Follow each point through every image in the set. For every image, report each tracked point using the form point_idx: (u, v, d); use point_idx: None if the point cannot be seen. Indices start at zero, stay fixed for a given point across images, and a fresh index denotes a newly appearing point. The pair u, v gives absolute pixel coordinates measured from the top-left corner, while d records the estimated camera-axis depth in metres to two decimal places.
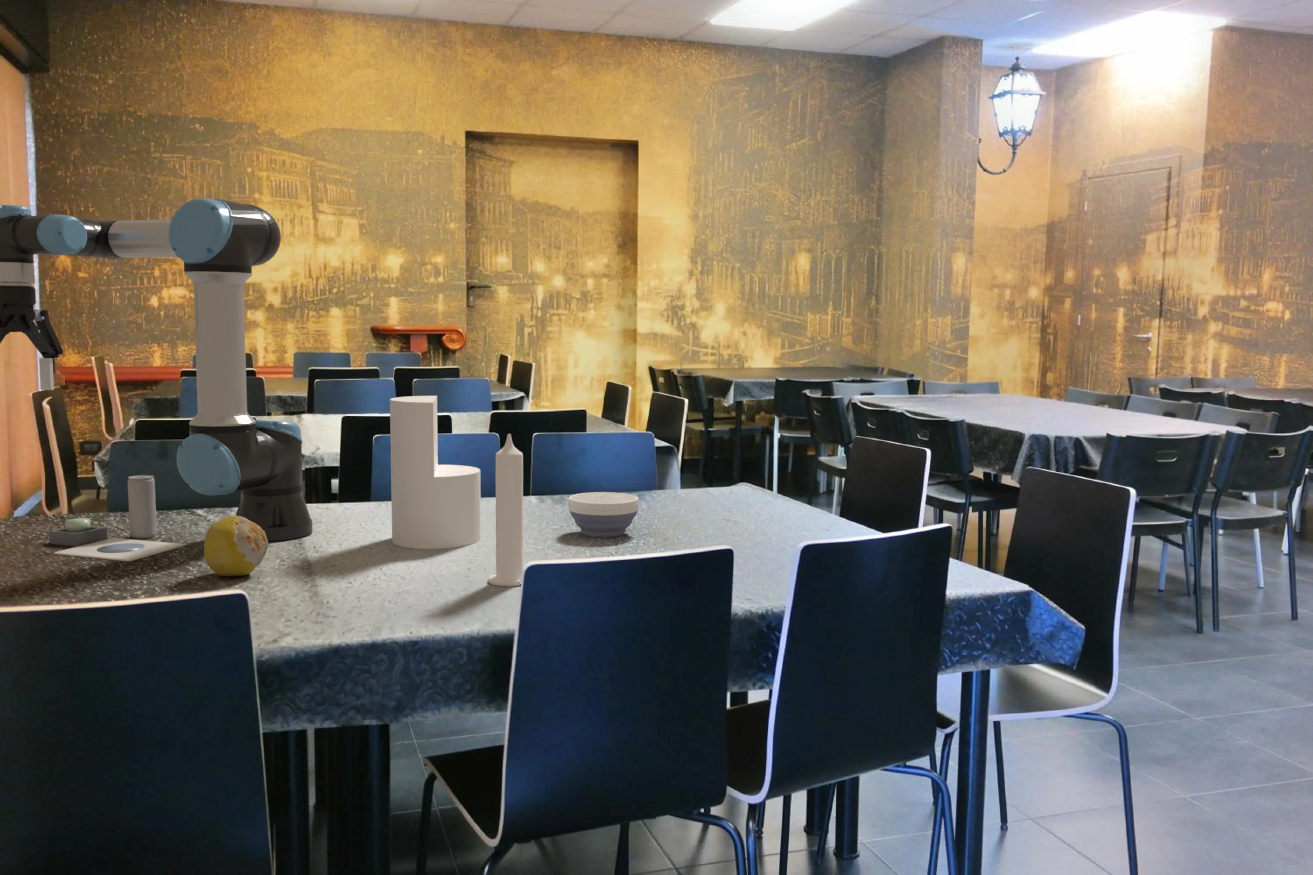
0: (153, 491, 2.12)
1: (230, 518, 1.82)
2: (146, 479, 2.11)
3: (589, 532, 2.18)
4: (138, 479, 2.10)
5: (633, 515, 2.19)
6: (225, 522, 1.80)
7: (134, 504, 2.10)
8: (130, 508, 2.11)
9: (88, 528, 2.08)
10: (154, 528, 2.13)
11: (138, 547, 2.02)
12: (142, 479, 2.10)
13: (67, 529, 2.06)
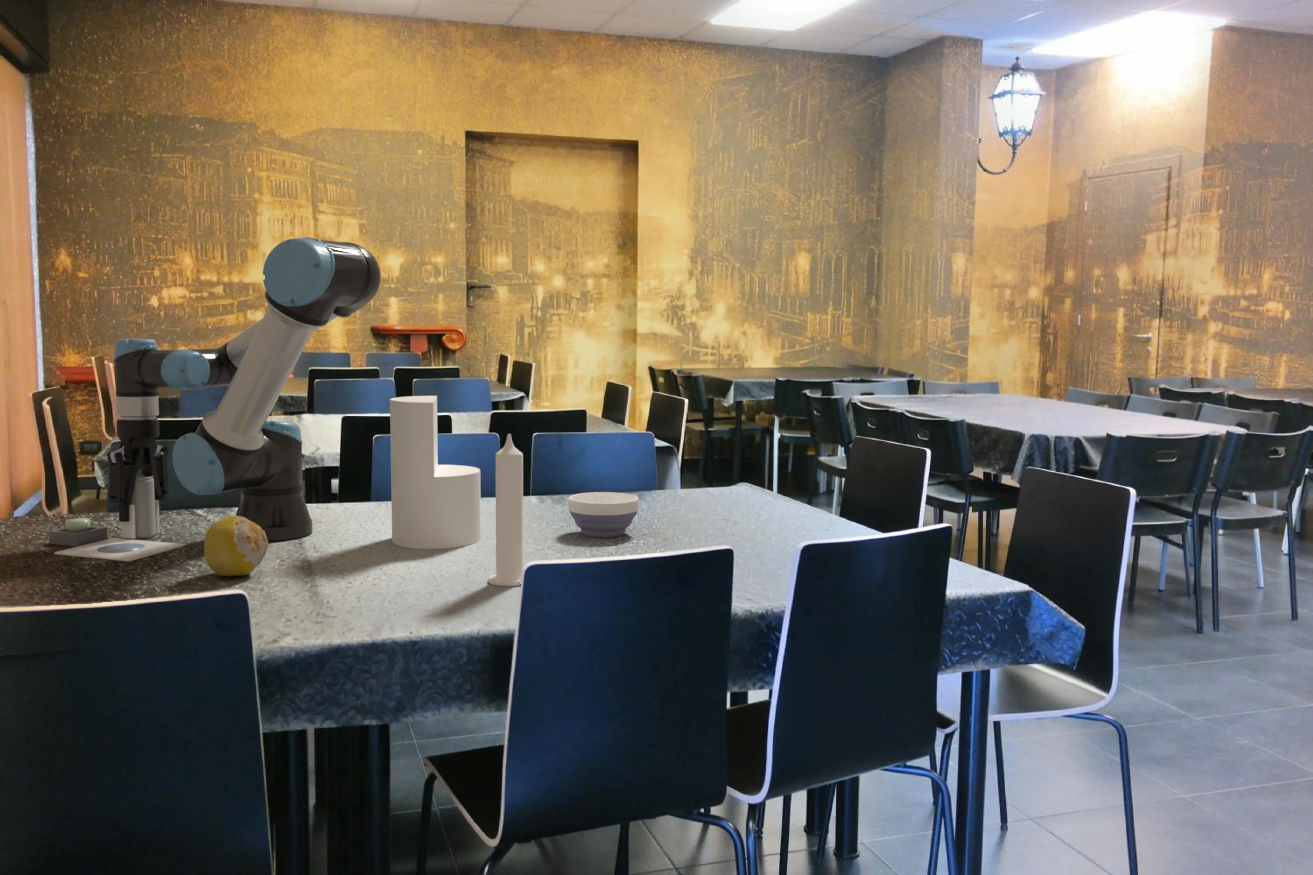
0: (152, 491, 2.12)
1: (230, 518, 1.82)
2: (145, 479, 2.11)
3: (589, 532, 2.18)
4: (137, 479, 2.10)
5: (633, 515, 2.19)
6: (225, 522, 1.80)
7: (133, 504, 2.10)
8: None
9: (88, 528, 2.08)
10: (153, 528, 2.13)
11: (138, 547, 2.02)
12: (141, 479, 2.10)
13: (67, 529, 2.06)
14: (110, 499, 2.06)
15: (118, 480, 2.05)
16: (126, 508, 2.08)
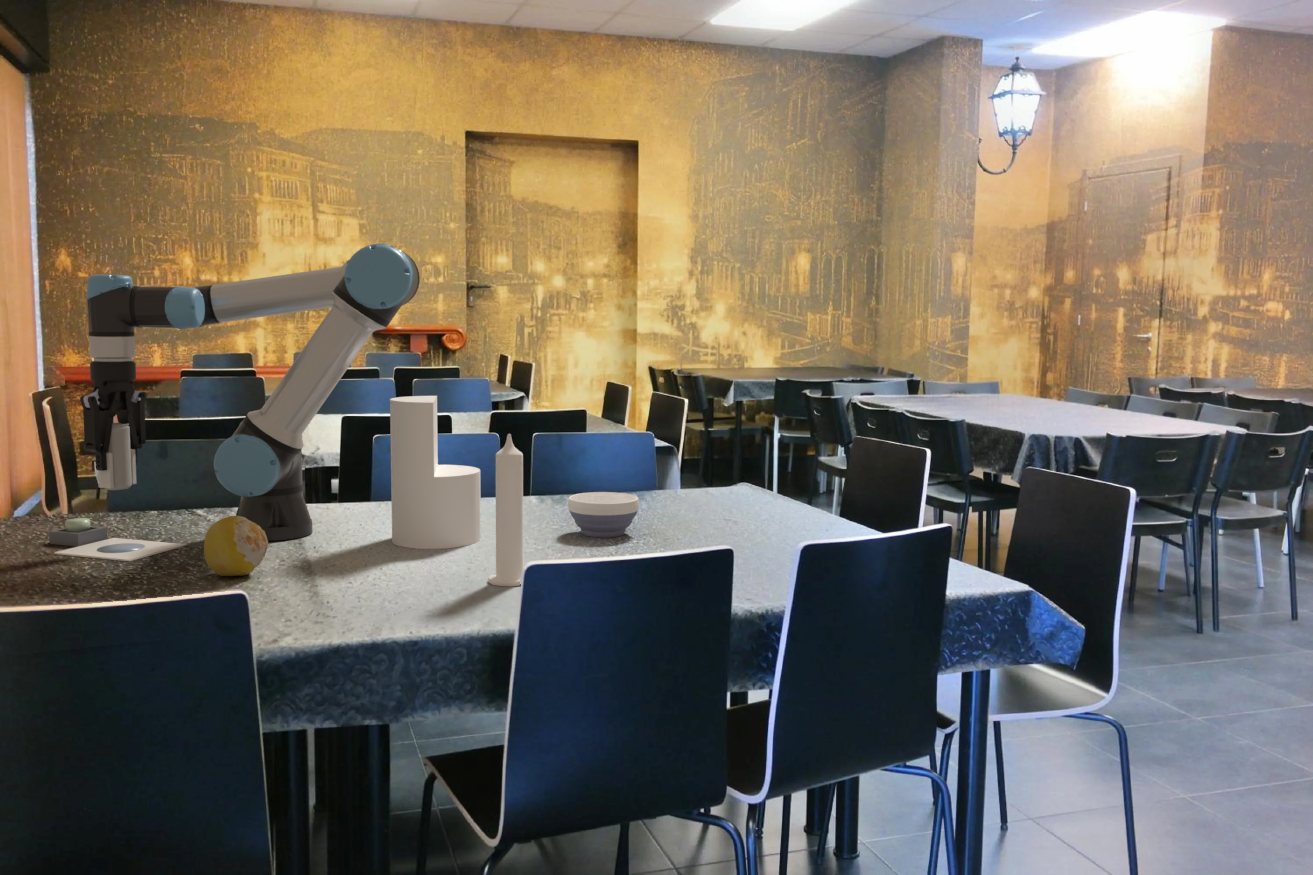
0: (128, 439, 1.99)
1: (230, 518, 1.82)
2: (120, 426, 1.98)
3: (589, 532, 2.18)
4: (112, 426, 1.97)
5: (633, 515, 2.19)
6: (225, 522, 1.80)
7: None
8: None
9: (88, 528, 2.08)
10: (129, 479, 2.00)
11: (138, 547, 2.02)
12: (116, 426, 1.97)
13: (67, 529, 2.06)
14: (86, 446, 1.94)
15: (93, 425, 1.93)
16: (103, 456, 1.96)
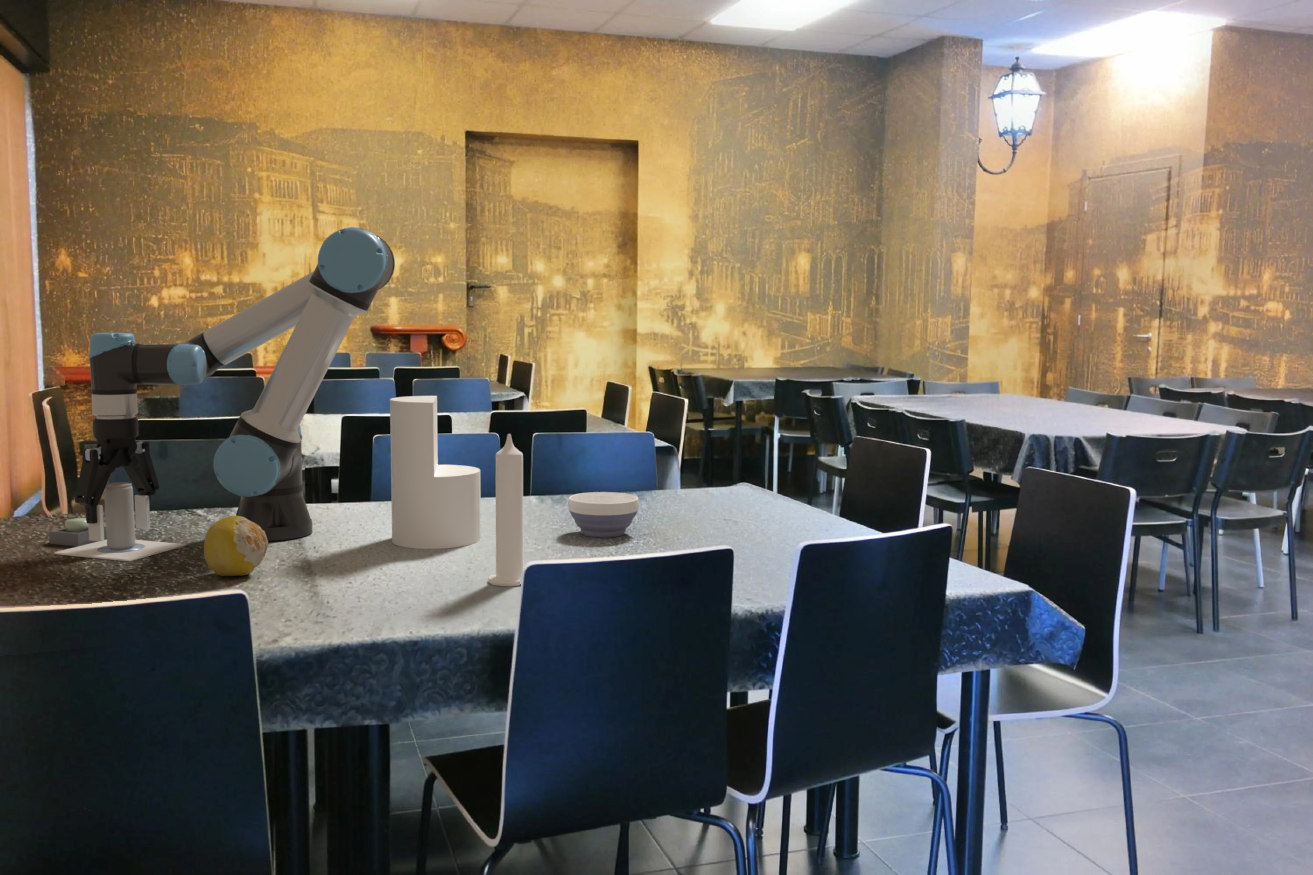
0: (131, 499, 2.00)
1: (230, 518, 1.82)
2: (123, 487, 1.99)
3: (589, 532, 2.18)
4: (115, 487, 1.98)
5: (633, 515, 2.19)
6: (225, 522, 1.80)
7: (111, 513, 1.98)
8: (107, 517, 1.99)
9: (88, 528, 2.08)
10: (132, 538, 2.01)
11: (138, 547, 2.02)
12: (119, 487, 1.98)
13: (67, 529, 2.06)
14: (76, 498, 1.92)
15: (89, 478, 1.92)
16: (93, 509, 1.94)
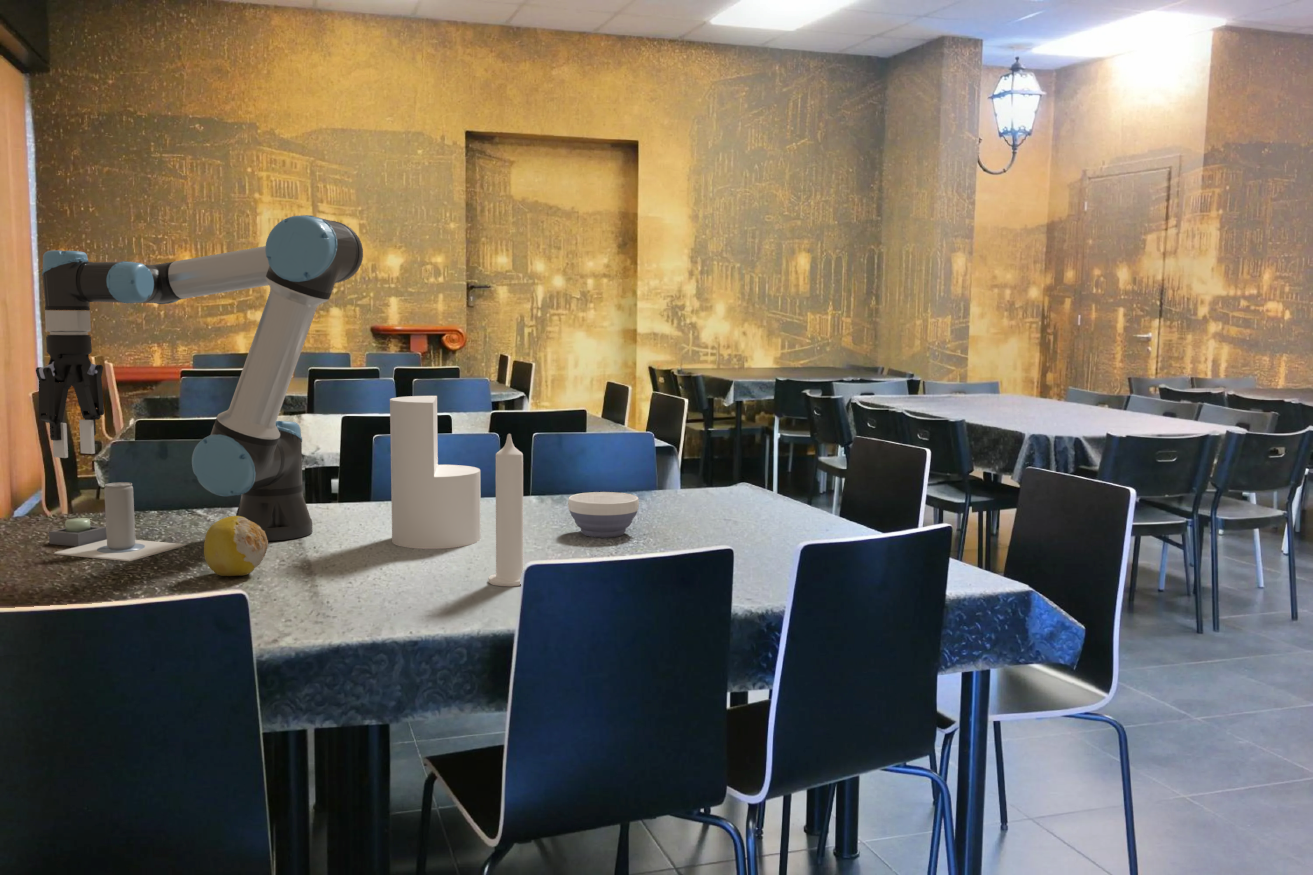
0: (131, 499, 2.00)
1: (230, 518, 1.82)
2: (124, 487, 1.99)
3: (589, 532, 2.18)
4: (115, 487, 1.98)
5: (633, 515, 2.19)
6: (225, 522, 1.80)
7: (111, 513, 1.98)
8: (107, 517, 1.99)
9: (88, 528, 2.08)
10: (133, 538, 2.01)
11: (138, 547, 2.02)
12: (120, 487, 1.98)
13: (67, 529, 2.06)
14: (40, 416, 1.99)
15: (48, 396, 1.99)
16: (57, 426, 2.01)
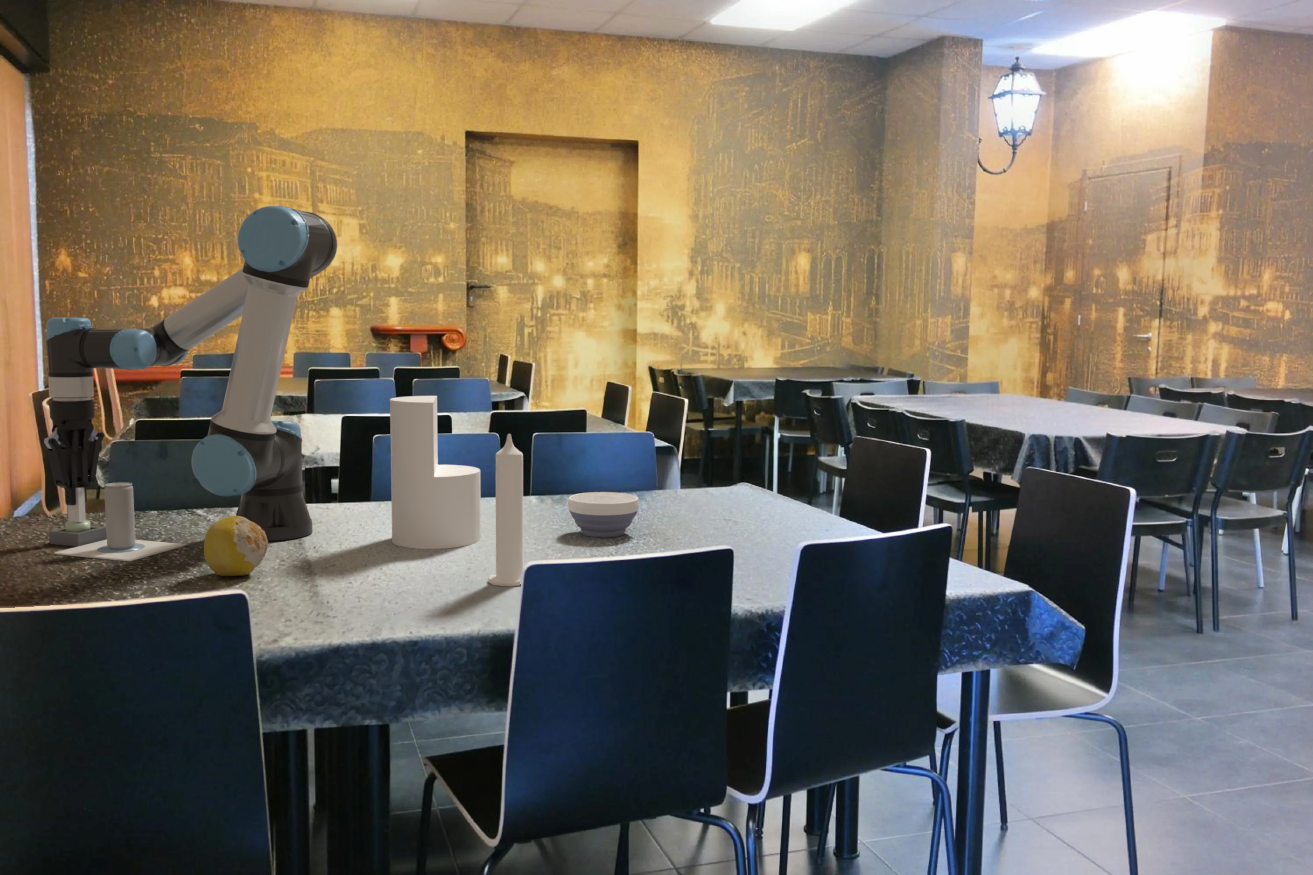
0: (131, 499, 2.00)
1: (230, 518, 1.82)
2: (124, 487, 1.99)
3: (589, 532, 2.18)
4: (115, 487, 1.98)
5: (633, 515, 2.19)
6: (225, 522, 1.80)
7: (111, 513, 1.98)
8: (107, 517, 1.99)
9: None
10: (133, 538, 2.01)
11: (138, 547, 2.02)
12: (120, 487, 1.98)
13: (67, 531, 2.06)
14: (56, 483, 2.04)
15: (59, 465, 2.02)
16: (72, 491, 2.06)
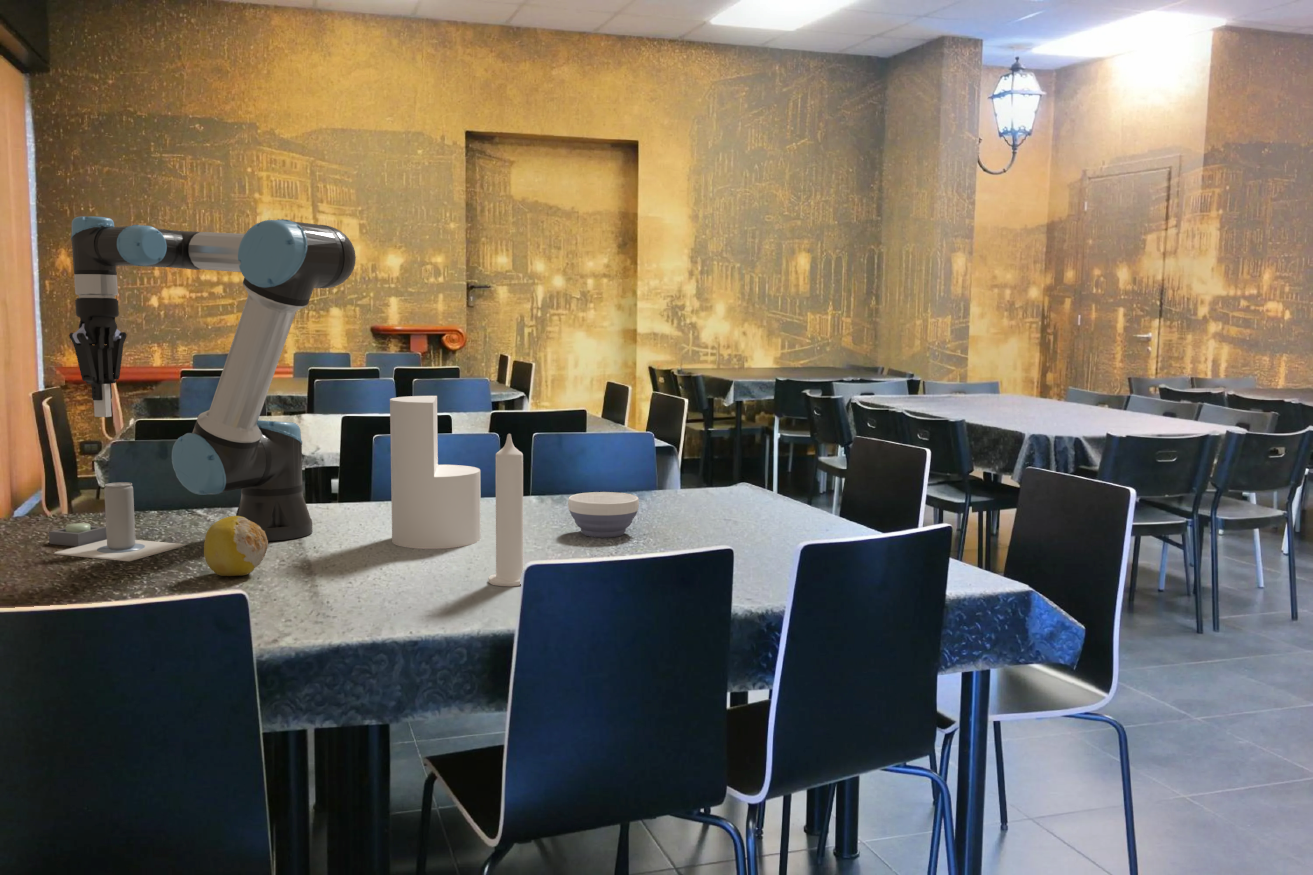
0: (131, 499, 2.00)
1: (230, 518, 1.82)
2: (124, 487, 1.99)
3: (589, 532, 2.18)
4: (115, 487, 1.98)
5: (633, 515, 2.19)
6: (225, 522, 1.80)
7: (111, 513, 1.98)
8: (107, 517, 1.99)
9: None
10: (133, 538, 2.01)
11: (138, 547, 2.02)
12: (120, 487, 1.98)
13: None
14: (83, 378, 2.10)
15: (87, 359, 2.09)
16: (99, 387, 2.12)
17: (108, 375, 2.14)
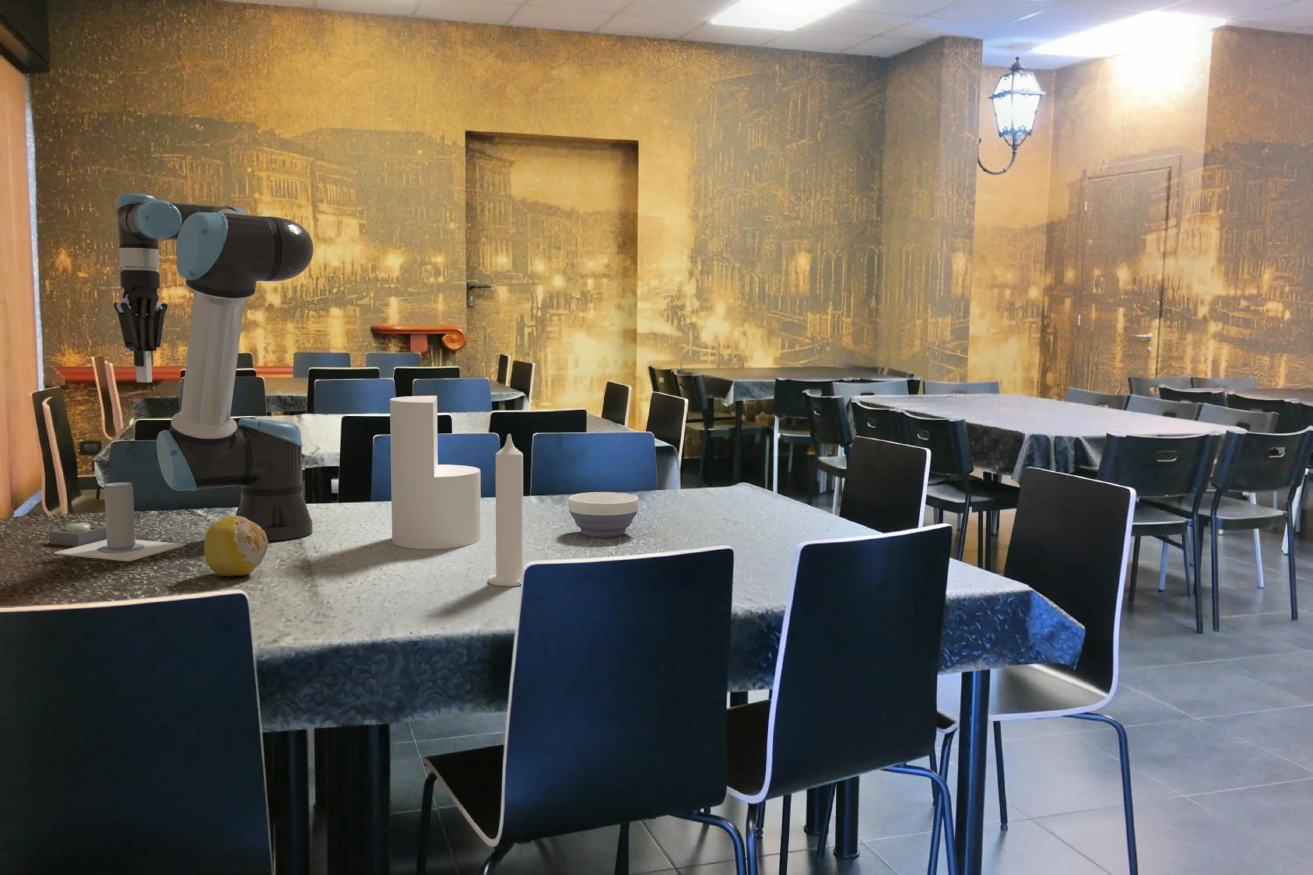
0: (131, 499, 2.00)
1: (230, 518, 1.82)
2: (124, 487, 1.99)
3: (589, 532, 2.18)
4: (115, 487, 1.98)
5: (633, 515, 2.19)
6: (225, 522, 1.80)
7: (111, 513, 1.98)
8: (107, 517, 1.99)
9: None
10: (133, 538, 2.01)
11: (138, 547, 2.02)
12: (120, 487, 1.98)
13: None
14: (126, 345, 2.25)
15: (129, 327, 2.23)
16: (141, 354, 2.27)
17: (149, 343, 2.29)
